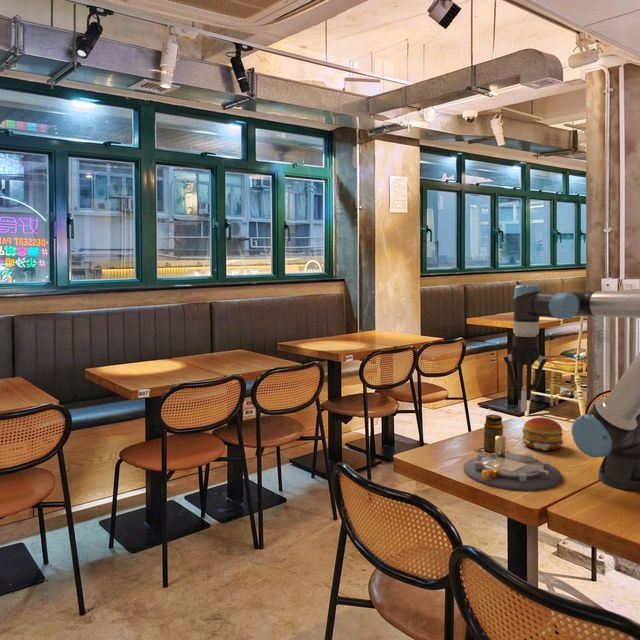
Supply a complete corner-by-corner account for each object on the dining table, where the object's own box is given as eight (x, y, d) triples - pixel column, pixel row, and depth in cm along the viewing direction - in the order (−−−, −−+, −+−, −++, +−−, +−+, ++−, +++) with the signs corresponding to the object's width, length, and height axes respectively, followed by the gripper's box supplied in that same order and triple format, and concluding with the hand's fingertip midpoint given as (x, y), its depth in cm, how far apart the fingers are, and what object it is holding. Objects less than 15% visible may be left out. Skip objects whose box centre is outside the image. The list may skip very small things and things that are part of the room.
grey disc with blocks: (524, 455, 200) (525, 430, 199) (566, 478, 178) (567, 451, 178) (461, 460, 195) (461, 435, 194) (497, 485, 173) (498, 457, 172)
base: (579, 475, 184) (580, 464, 184) (525, 498, 167) (526, 485, 167) (500, 452, 206) (500, 442, 206) (444, 470, 189) (445, 459, 188)
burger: (560, 442, 218) (561, 415, 217) (565, 454, 205) (566, 425, 204) (520, 440, 221) (521, 412, 220) (523, 451, 208) (524, 422, 207)
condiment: (507, 452, 207) (508, 417, 206) (490, 456, 203) (491, 420, 201) (490, 446, 213) (491, 412, 212) (473, 450, 209) (474, 415, 207)
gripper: (549, 334, 191) (547, 409, 193) (506, 332, 197) (504, 405, 199) (546, 337, 184) (544, 415, 186) (501, 335, 190) (500, 410, 192)
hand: (524, 410), depth 192 cm, fingers closed
